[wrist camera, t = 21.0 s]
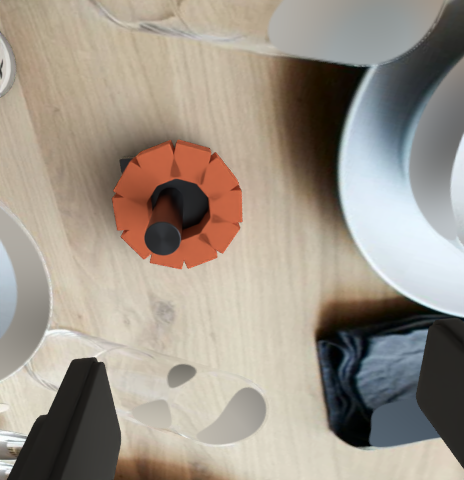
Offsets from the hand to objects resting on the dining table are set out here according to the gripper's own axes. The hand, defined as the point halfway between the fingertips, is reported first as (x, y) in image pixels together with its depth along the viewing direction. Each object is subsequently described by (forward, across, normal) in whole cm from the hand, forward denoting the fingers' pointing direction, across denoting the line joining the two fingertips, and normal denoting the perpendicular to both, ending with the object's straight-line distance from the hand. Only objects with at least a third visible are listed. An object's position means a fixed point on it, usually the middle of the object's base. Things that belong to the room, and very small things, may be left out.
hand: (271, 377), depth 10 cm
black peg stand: (+26, +4, +1) cm, 26 cm away
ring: (+24, +4, +2) cm, 25 cm away
